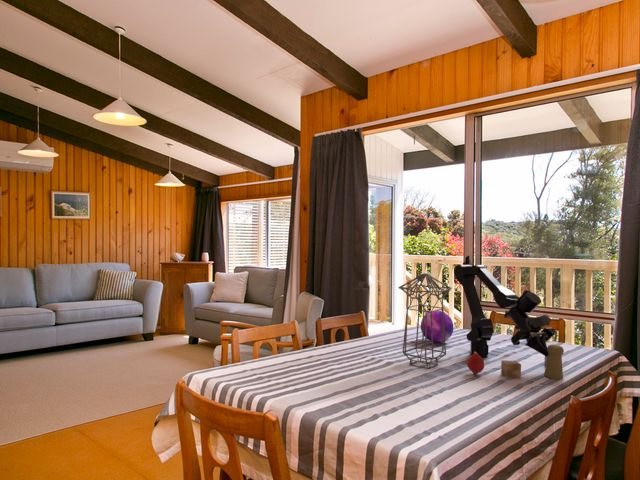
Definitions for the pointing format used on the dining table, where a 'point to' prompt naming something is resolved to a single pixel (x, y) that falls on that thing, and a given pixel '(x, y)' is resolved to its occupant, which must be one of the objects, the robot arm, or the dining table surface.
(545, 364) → the slate marked block
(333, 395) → the dining table surface
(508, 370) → the walnut marked block
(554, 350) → the cork
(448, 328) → the decorative orb
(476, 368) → the onion
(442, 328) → the geometric lantern
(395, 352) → the dining table surface
